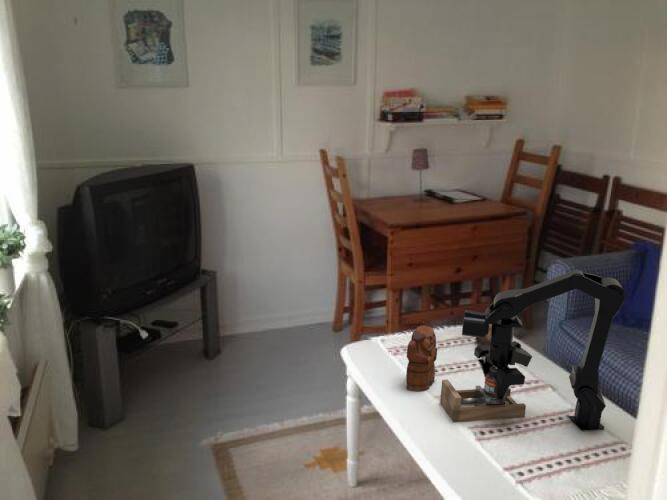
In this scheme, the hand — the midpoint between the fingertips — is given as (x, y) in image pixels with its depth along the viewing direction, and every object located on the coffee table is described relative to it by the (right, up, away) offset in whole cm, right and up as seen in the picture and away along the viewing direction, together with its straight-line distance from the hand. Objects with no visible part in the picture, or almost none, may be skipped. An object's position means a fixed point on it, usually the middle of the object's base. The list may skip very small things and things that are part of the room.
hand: (495, 393), depth 161 cm
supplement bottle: (0, -4, +1) cm, 4 cm away
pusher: (-6, -4, 0) cm, 8 cm away
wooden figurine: (-18, -1, +14) cm, 23 cm away
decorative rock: (+9, +5, +40) cm, 41 cm away
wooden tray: (-4, -5, +1) cm, 6 cm away
